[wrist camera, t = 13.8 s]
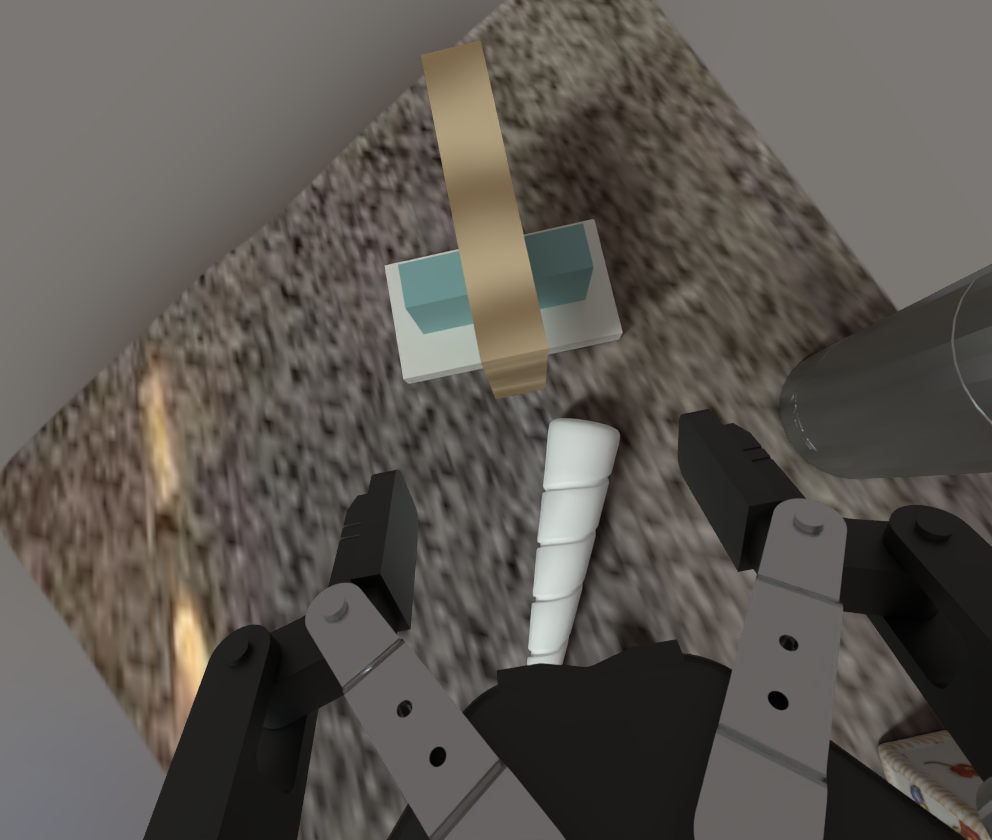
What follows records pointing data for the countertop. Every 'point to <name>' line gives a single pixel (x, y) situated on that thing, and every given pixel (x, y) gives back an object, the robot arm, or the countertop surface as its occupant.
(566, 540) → the unicorn horn
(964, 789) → the decorative jar
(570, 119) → the countertop surface
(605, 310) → the ridge stand
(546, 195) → the countertop surface
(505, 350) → the wooden beam
